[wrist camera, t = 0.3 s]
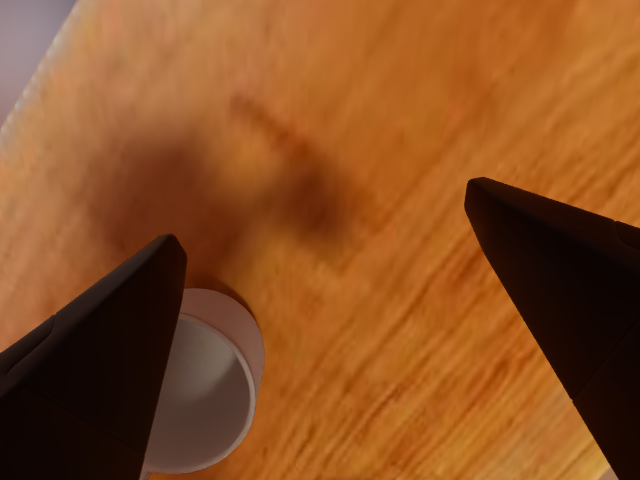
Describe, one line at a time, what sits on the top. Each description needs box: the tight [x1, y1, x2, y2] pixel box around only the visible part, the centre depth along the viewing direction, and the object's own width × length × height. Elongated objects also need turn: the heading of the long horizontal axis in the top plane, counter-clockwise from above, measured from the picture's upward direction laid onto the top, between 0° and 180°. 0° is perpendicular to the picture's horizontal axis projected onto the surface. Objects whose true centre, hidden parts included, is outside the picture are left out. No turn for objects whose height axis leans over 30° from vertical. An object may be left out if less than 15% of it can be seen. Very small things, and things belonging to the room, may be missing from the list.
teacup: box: [140, 288, 265, 480], centre depth 22 cm, size 14×11×8 cm
